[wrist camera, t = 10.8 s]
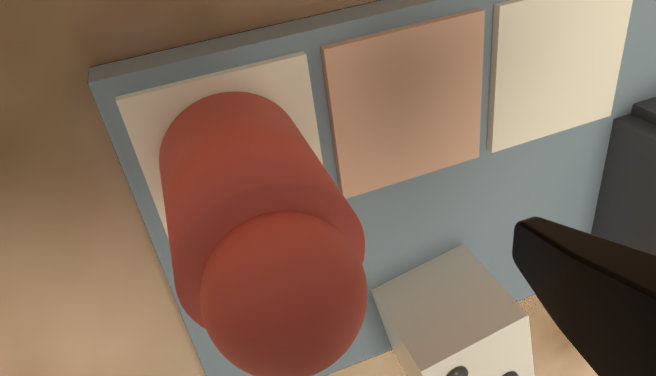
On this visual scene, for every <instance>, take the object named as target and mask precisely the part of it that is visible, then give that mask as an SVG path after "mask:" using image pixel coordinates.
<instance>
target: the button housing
mask: <svg viewBox="0 0 656 376" xmlns="http://www.w3.org/2000/svg"><path fill="white" fill-rule="evenodd" d="M591 234H592V235H595V236H598V237H601V238H604V239H608V240H611V241H614V242H617V243H620V244H623V245H626V246H629V247H632V248H635V249H638V250H641V251H644V252H647V253H650V254H653V255H656V97H653V98H650V99H647V100H644V101H640V102H637V103H634V104H633V106H632V111H631V114H627V115H624V116H621V117H618V118H615V119H613V125H612V130H611V135H610V140H609V145H608V150H607V155H606V160H605V165H604V170H603V175H602V180H601V185H600V190H599V195H598V200H597V205H596V210H595V215H594V220H593V226H592V231H591Z"/></svg>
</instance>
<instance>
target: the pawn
mask: <svg viewBox="0 0 656 376" xmlns="http://www.w3.org/2000/svg"><path fill="white" fill-rule="evenodd" d="M159 168H160V176H161V183H162V191H163V199H164V206H165V214H166V222H167V229H168V237H169V245H170V252H171V260H172V268H173V275H174V283H175V288H176V293H177V296H178V299H179V301H180V303H181V305H182V307H183V308H184V310H185V312H186V313H187V314H188V315H189V316H190V317H191V318H192V320H193V321H195V322H196V323H197V324H199V325H200V326H201V327H203V328H205V329H206V330H207V332H208V334H209V336H210V338H211V340H212V342H213V343H214V345H215V346H216V348H217V349H218V350H219V351H220V353H221V354H222V355H223V356H224V357H225V358H226V359H227V360H228V361H230V362H231V363H232V364H233V365H235V366H236V367H237V368H239V369H241V370H243V371H245V372H247V373H248V374H250V375H253V376H312V375H315V374H317V373H319V372H321V371H323V370H325V369H326V368H328V367H329V366H331V365H332V364H334V363H335V362H336V361H337V360H338V359H339V358H340V357H341V356H342V355H343V354H344V353H345V352H346V351H347V350H348V349H349V348H350V346H351V345H352V343H353V342H354V340H355V339H356V337H357V335H358V333H359V331H360V329H361V326H362V323H363V320H364V317H365V313H366V308H367V297H368V291H367V281H366V276H365V272H364V269H363V266H362V265H363V261H364V255H365V237H364V231H363V228H362V225H361V223H360V221H359V219H358V217H357V215H356V213H355V212H354V210H353V209H352V208H351V206H350V205H349V203H348V202H347V200H346V199H345V197H344V196H343V194H342V193H341V191H340V190H339V188H338V187H337V185H336V184H335V182H334V181H333V180H332V178H331V177H330V175H329V174H328V172H327V171H326V169H325V168H324V166H323V165H322V163H321V162H320V160H319V159H318V157H317V156H316V154H315V153H314V152H313V150H312V149H311V147H310V146H309V144H308V143H307V141H306V140H305V138H304V137H303V135H302V134H301V132H300V131H299V129H298V128H297V126H296V125H295V124H294V122H293V121H292V119H291V118H290V117H289V115H288V114H287V113H286V112H285V111H284V110H283V109H282V108H281V107H280V106H278V105H277V104H276V103H274V102H272V101H271V100H269V99H267V98H265V97H262V96H260V95H256V94H252V93H248V92H223V93H218V94H214V95H210V96H207V97H205V98H202V99H200V100H198V101H196V102H195V103H193V104H191V105H190V106H188V107H187V108H186V109H184V110H183V111H182V112H181V113H180V114H179V115H178V116H177V117H176V118H175V119H174V121H173V122H172V123H171V124H170V126H169V128H168V129H167V131H166V133H165V135H164V138H163V140H162V143H161V147H160V153H159Z"/></svg>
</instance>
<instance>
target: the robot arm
mask: <svg viewBox="0 0 656 376" xmlns="http://www.w3.org/2000/svg"><path fill="white" fill-rule="evenodd" d="M512 257H513V260H514V262H515V264H516V266H517V268H518V269H519V271H520V272H521V274H522V275H523V276H524V278H525V279H526V281H527V282H528V284H529V285H530V287H531V288H532V290H533V291H534V293H535V294H536V296H537V297H538V299H539V300H540V302H541V303H542V305H543V306H544V308H545V309H546V311H547V312H548V314H549V315H550V316H551V318H552V319H553V321H554V322H555V323H556V325H557V326H558V327H559V329H560V330H561V331H562V332H563V334H564V335H565V336H566V337H567V339H568V340H569V341H570V342H571V343H572V345H573V346H574V347H575V348H576V349H577V350H578V352H579V353H580V354H581V355H582V356H583V358H584V359H585V360H586V361H587V362H588V364H589V365H590V366H591V367H592V368H593V370H594V371H595V372H596V373H597V374H598V376H656V255H653V254H650V253H647V252H644V251H641V250H638V249H635V248H632V247H629V246H626V245H623V244H620V243H617V242H614V241H611V240H608V239H604V238H601V237H598V236H595V235H592V234H589V233H586V232H583V231H580V230H577V229H574V228H571V227H568V226H565V225H562V224H559V223H556V222H553V221H550V220H547V219H544V218H541V217H537V216H533V217H529V218H527V219H524V220H521V221H518V222H517V223H516V225H515V227H514V235H513V246H512Z"/></svg>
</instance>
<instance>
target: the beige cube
mask: <svg viewBox="0 0 656 376" xmlns="http://www.w3.org/2000/svg"><path fill="white" fill-rule="evenodd" d="M371 292H372V295H373V298H374V300H375V303H376V306H377V309H378V311H379V314H380V317H381V319H382V322H383V325H384V328H385V330H386V333H387V336H388V339H389V341H390V344H391V347H392V349H393V352H394V354H395V355H396V357H397V359H398V360H399V362H400V364H401V365H402V367H403V369H404V371H405V372H406V374H407V376H535V374H534V364H533V354H532V345H531V335H530V325H529V315H528V314H527V313H526V312H525V311H524V310H523V308H522V307H521V306H520V305H519V304H518V303H517V302H516V301H515V300H514V299H513V298H512V297H511V296H510V294H509V293H508V292H507V291H506V290H505V289H504V288H503V287H502V286H501V285H500V284H499V283H498V282H497V281H496V279H495V278H494V277H493V276H492V275H491V274H490V273H489V272H488V271H487V270H486V269H485V268H484V267H483V265H482V264H481V263H480V262H479V261H478V260H477V259H476V258H475V257H474V256H473V255H472V254H471V253H470V252H469V250H468V249H467V248H466V247H465V246H464V245H463V244H462V245H460V246H458V247H456V248H454V249H452V250H450V251H448V252H446V253H444V254H442V255H440V256H438V257H436V258H434V259H432V260H430V261H428V262H426V263H424V264H422V265H420V266H418V267H416V268H414V269H412V270H410V271H408V272H406V273H404V274H402V275H400V276H398V277H396V278H394V279H392V280H390V281H388V282H386V283H384V284H382V285H380V286H378V287H376V288H374V289H372V290H371Z"/></svg>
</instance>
